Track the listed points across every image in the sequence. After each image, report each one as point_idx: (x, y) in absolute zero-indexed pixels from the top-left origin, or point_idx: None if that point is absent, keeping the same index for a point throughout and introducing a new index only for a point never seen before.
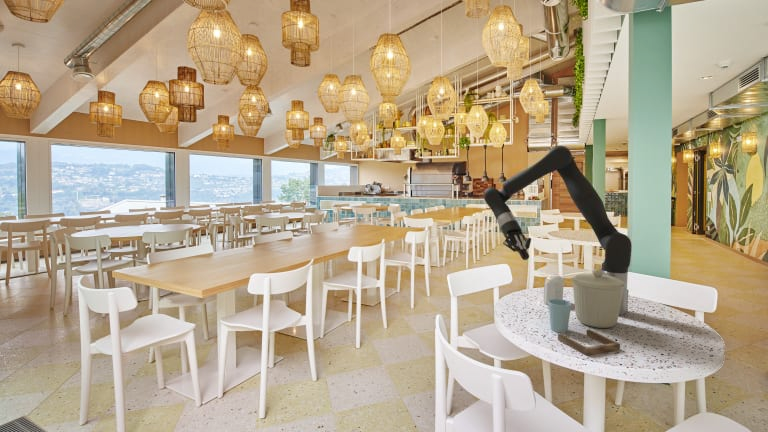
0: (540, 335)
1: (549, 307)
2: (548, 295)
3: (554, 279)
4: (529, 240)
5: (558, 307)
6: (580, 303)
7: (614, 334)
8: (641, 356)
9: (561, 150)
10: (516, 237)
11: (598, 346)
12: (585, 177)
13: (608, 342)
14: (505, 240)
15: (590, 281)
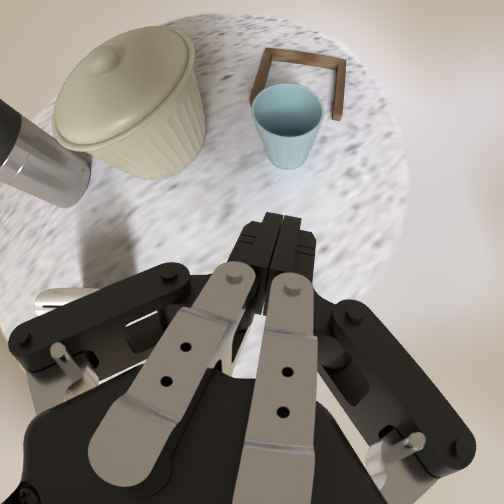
0: (358, 153)
1: (317, 132)
2: None
3: (71, 291)
4: (53, 326)
5: (315, 100)
6: (197, 115)
7: (200, 92)
8: (259, 37)
9: None
10: (279, 459)
11: (314, 55)
12: None
13: (269, 63)
14: (468, 450)
15: (172, 46)
